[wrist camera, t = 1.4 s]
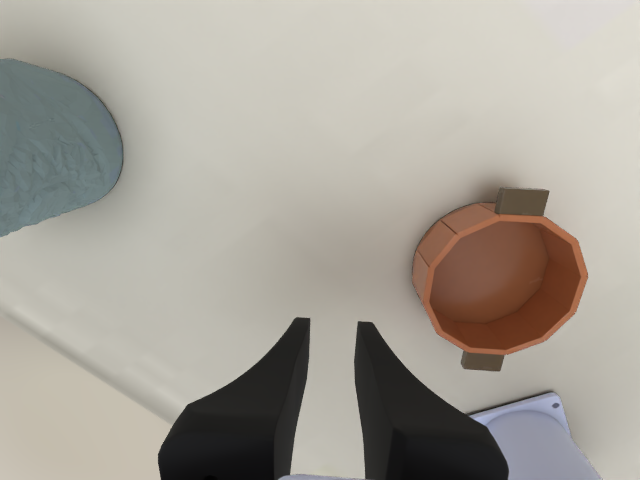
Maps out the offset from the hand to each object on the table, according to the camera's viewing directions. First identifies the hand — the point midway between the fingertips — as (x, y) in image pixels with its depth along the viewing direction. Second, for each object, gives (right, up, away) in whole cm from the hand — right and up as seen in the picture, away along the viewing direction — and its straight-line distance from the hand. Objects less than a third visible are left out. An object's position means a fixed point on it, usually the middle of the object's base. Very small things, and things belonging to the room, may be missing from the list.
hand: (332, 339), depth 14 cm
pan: (+11, +2, +8) cm, 14 cm away
